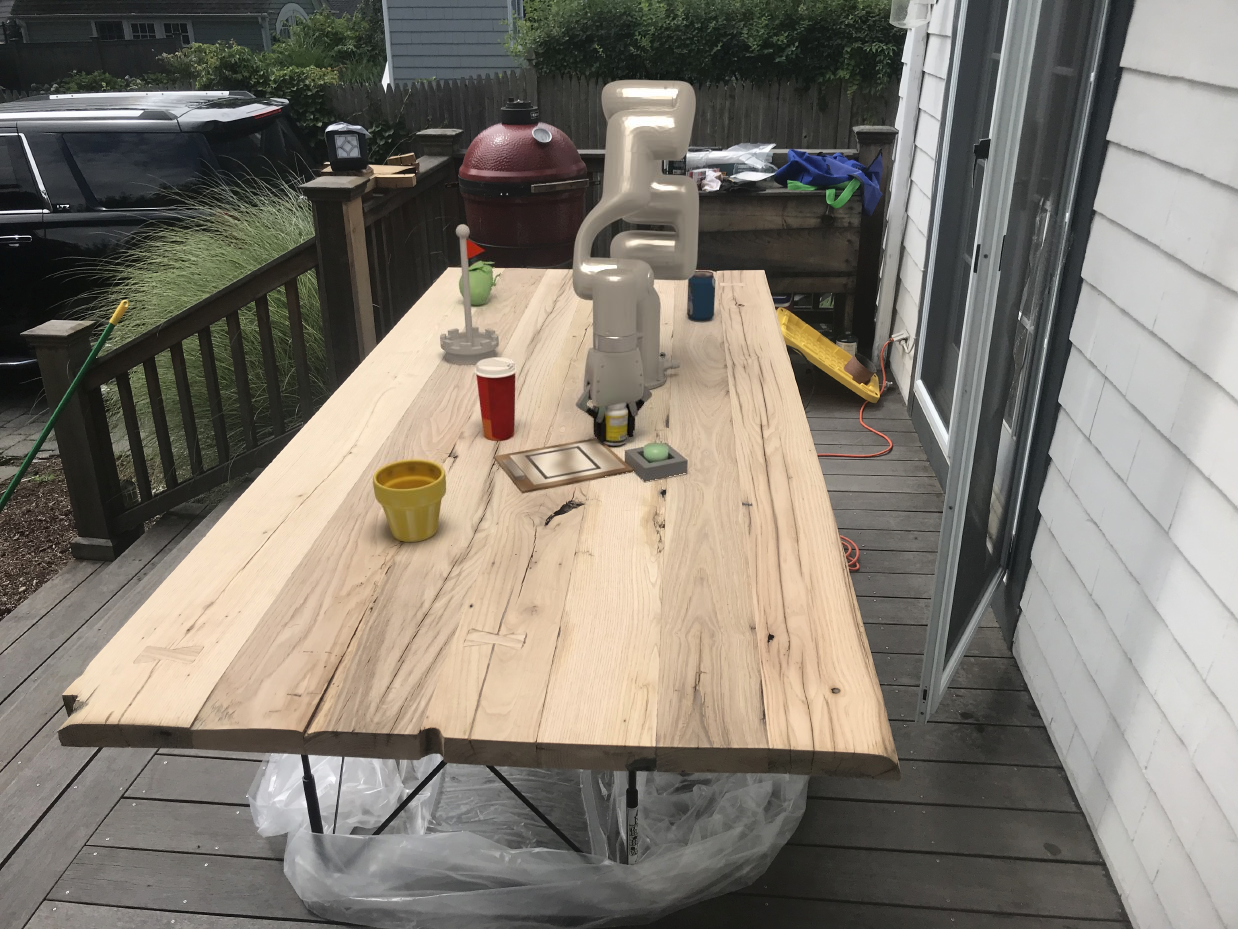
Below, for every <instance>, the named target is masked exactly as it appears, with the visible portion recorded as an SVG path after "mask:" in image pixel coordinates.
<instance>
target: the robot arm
mask: <svg viewBox="0 0 1238 929" xmlns="http://www.w3.org/2000/svg"><path fill="white" fill-rule="evenodd" d="M696 99H697V98H696V94H695V89H694V88H693V86H692V85H691V84H690V83H689V82H687V81H681V80H654V79H653V80H651V79H650V80H649V79H623V80H615V81H614V80H613V81H612V82H609V83H607V84H606V85H605V86H604V87H603V89H602V90H601V105H602V106H601V107H602V110H603V115H604V117H605V119H606V121H607V127H606V138H605V140H606V141H605V149H604V150H605V153H604V168H603V169H604V171H603V183H602V184H603V185H602V195H601V196H602V197H601V199H600V201H599V202H598V203H597V204H596V205H595V207H593V209H592V210H590V212H588V214H587V215H586V217H585V218H584V220H583V221H582V223H581V224H580V227H579V229H578V231H577V234H576V238H575V241H574V246H573V260H572V261H573V262H572V274H571V275H572V276H571V277H572V288H573V291H574V293H575V295H576V296H577V298H580V299H582V300H584V301H592V347H590V348H588V351H587V355H586V360H585V366H584V374H583V392H582V393H581V395H580V397H578V399H577V400H576V402H575V406H576V407H577V409H579V410H580V411H582V412H583V413H585V414H587V415H588V416H589V417H591V418H592V419H593V421H592V422H593V423H592V424H593V426H592V427H593V428H592V429H593V430H592V431H593V435H594V438H597V439H598V440H599V441H600V442H601V443H604V442H605V441H606V423H605V422H604V421H603V417H604V413H605V409H606V406H612V405H615V404H620V403H626V408H627V409H628V422H627V438H634V431H635V430H636V417H638V414H639V412H640V410H641V409H642V408H643V406H644V405H645V403H647V402H648V401H649V400H650V399H651V398H652V397H653V392H651V390H652V389H656V388H659V387H661V386H663V385H664V384H665V383H666V382H667V375H666V373H665V372H667V371H668V370H674V369H679V368H680V367H681V362H680V360H679V359H671V360H669V357H666V358H665V357H664V358H661V357H660V346H661V344H660V341H661V307H662V306H661V299H660V296H659V295H660V294H659V293H658V292H657V290H656V288H655V286H654V285H655V281H656V280H657V281H659V280H660V281H686V280H688V279H690V278H691V277H692V276H693V275H694V273H695V271H697V264H698V250H699V249H698V248H699V246H698V243H699V218H700V215H699V214H700V212H699V211H700V200H699V199H700V196H699V189H698V185H697V182H696V181H695V180H694V178H692V177H690V176H687V175H683V174H682V175H681V174H679V175H678V174H664V173H663V171H662V167H663V166H662V163H663V161H680V160H682V159H684V157H685V156H686V154H687V152H688V149H689V145H690V143H691V142H690V141H691V137H692V131H693V130H692V129H693V125H694V120H695V114H696V102H697V100H696ZM619 219H622V220H623V221H625V222H626V223H629V224H637V225H638V224H639V225H655V226H657V225H659V226H661V225H662V226H671V227H673V228H674V230H675V231H656V230H637V229H636V230H635V229H634V230H627V231H622V232H620V233H618V234H616V235H615V236H614V237H613V238H612V240H611V243H610V247H609V248H610V250H609V251H610V253H609V254H610V257H609V258H608V257H591V252H592V247H593V243H594V240H595V238H596V237H597V236H598V234H599V233H600V232H601V231H602V230H603V229H604V228H606V227H607V226H608V225H611V223H613V222H616V221H618V220H619ZM590 401H592V402H591V403H592V407H591V406H590V405H588V402H590Z"/></svg>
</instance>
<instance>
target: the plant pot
mask: <svg viewBox="0 0 1238 929" xmlns="http://www.w3.org/2000/svg"><path fill="white" fill-rule="evenodd" d="M372 485H373V490H374V491H373V492H374V496H375V500H376V502H378V503H379V504H380V505H381V506H382V507H381V508H382V510H383V512H384V515H385V517H386V520H387V523H388V526H389V529H390V531H391V534H392V536H393V537H394V538H395V540H398V541H400V542H403V543H404V542H405V543H415V542H416V543H418V542H421V541H424V540H427V539H430V538H431V537H433V536H434V535H435V534H436V532H437V530H438V526H439V519H440V513H441V505H442V499H443V498H444V496H445V495H446V494H447V479H446V471H445V469H444V467H443V466H442V465H441V464H439V463H437V462H435V461H432V460H428V459H419V458H418V459H417V458H413V459H402V460H401V459H400V460H398V461H393V462H391V463H388V464H385V465H383V466H381V467H379V469H377V470H376V471H375V472H374V474H373V476H372Z"/></svg>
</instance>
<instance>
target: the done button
mask: <svg viewBox="0 0 1238 929" xmlns="http://www.w3.org/2000/svg"><path fill="white" fill-rule="evenodd" d="M663 443H664V442H650V443H646V444H645V445H644V446H643V447H644V459H645V460H646V461H647V462H648V463H653V462H658V461H664V460H668V446H667V445H665V444H663Z"/></svg>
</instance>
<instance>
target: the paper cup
mask: <svg viewBox="0 0 1238 929" xmlns="http://www.w3.org/2000/svg"><path fill="white" fill-rule="evenodd" d="M515 364H516V363H515V362H514V361H513V360H512V359H511V358H506V357H496V356H495V358H487V359H483V360H481V361H479V362H478V363H477V364H476V365H475V368H474V369H473V372H474V374H475V375H476V376H475V377H476V381H477V382H476V383H477V392H478V400H479V406H480V407H479V408H480V416H481V423H482V429H483V430H482V432H483V436H484V438H485V439H487V440H489V441H494V442H502V441H507V440H510V439H513V438H514V436H515V421H516V420H515V416H516V415H515V413H516V373H517V371H518V367H517V366H516V365H515Z"/></svg>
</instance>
